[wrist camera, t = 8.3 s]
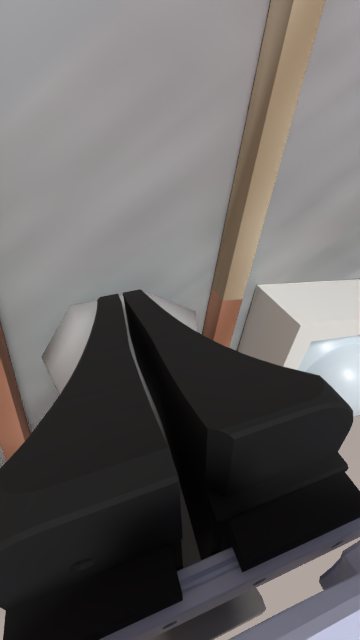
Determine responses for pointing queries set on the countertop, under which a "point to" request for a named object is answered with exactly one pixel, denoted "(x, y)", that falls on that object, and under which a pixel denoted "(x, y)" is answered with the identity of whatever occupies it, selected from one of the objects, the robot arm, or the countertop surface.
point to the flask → (61, 362)
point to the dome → (337, 366)
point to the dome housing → (299, 319)
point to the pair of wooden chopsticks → (247, 193)
